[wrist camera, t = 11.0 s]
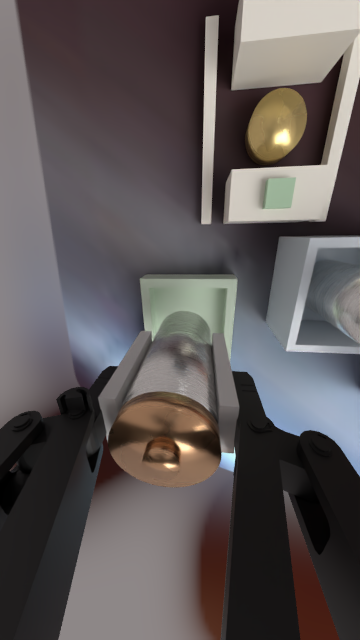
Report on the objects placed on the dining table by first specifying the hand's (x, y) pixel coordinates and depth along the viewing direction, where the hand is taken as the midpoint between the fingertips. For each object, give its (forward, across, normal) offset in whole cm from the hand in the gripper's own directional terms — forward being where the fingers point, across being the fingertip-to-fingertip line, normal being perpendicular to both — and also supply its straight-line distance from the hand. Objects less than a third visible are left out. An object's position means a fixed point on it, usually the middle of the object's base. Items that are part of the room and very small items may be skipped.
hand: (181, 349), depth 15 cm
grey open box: (+7, +12, +3) cm, 15 cm away
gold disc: (+7, +6, +14) cm, 17 cm away
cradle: (+7, +6, +14) cm, 17 cm away
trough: (+7, 0, -3) cm, 8 cm away
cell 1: (+2, 0, 0) cm, 2 cm away
